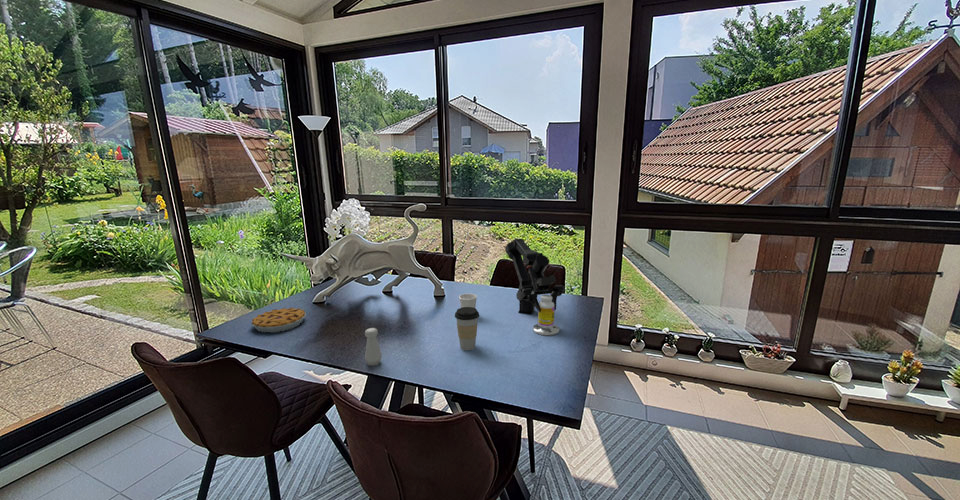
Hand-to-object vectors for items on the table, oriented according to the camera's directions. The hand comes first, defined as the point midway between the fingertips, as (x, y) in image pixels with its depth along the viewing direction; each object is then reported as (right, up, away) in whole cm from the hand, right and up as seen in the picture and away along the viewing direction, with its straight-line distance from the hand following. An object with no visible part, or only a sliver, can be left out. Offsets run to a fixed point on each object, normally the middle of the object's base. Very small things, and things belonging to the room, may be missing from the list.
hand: (547, 310), depth 161 cm
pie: (-119, -9, +15) cm, 121 cm away
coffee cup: (-33, -13, -11) cm, 37 cm away
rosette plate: (0, -9, +3) cm, 9 cm away
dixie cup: (-34, -6, +20) cm, 40 cm away
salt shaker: (-66, -16, -22) cm, 72 cm away
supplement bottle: (0, -7, +3) cm, 7 cm away
